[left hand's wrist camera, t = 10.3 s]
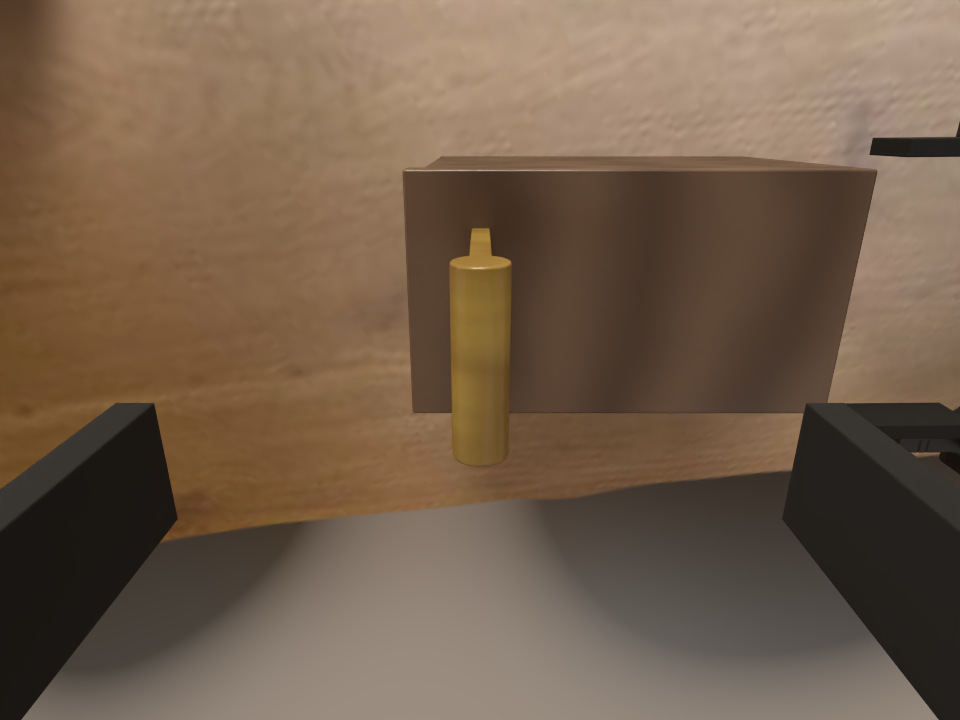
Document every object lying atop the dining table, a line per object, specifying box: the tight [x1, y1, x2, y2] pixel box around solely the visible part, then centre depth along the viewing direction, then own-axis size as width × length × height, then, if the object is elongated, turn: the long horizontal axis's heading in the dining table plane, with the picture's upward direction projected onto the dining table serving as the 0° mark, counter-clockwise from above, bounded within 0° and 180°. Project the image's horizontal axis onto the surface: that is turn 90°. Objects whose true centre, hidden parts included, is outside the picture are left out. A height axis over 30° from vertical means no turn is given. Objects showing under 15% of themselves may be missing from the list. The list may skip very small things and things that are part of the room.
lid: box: [403, 168, 877, 467], centre depth 21 cm, size 18×10×9 cm, turn 90°
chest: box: [425, 157, 855, 168], centre depth 31 cm, size 17×10×11 cm, turn 90°
